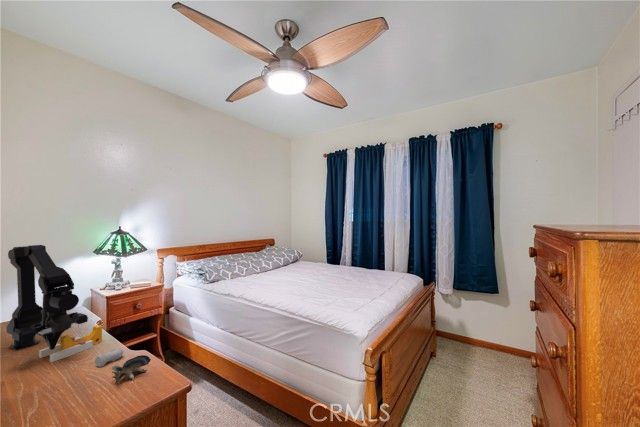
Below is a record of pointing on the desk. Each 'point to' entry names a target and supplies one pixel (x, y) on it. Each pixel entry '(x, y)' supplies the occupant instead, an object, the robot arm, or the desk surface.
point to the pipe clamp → (94, 336)
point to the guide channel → (65, 350)
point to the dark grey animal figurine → (130, 367)
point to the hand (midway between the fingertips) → (52, 349)
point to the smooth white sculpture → (108, 357)
